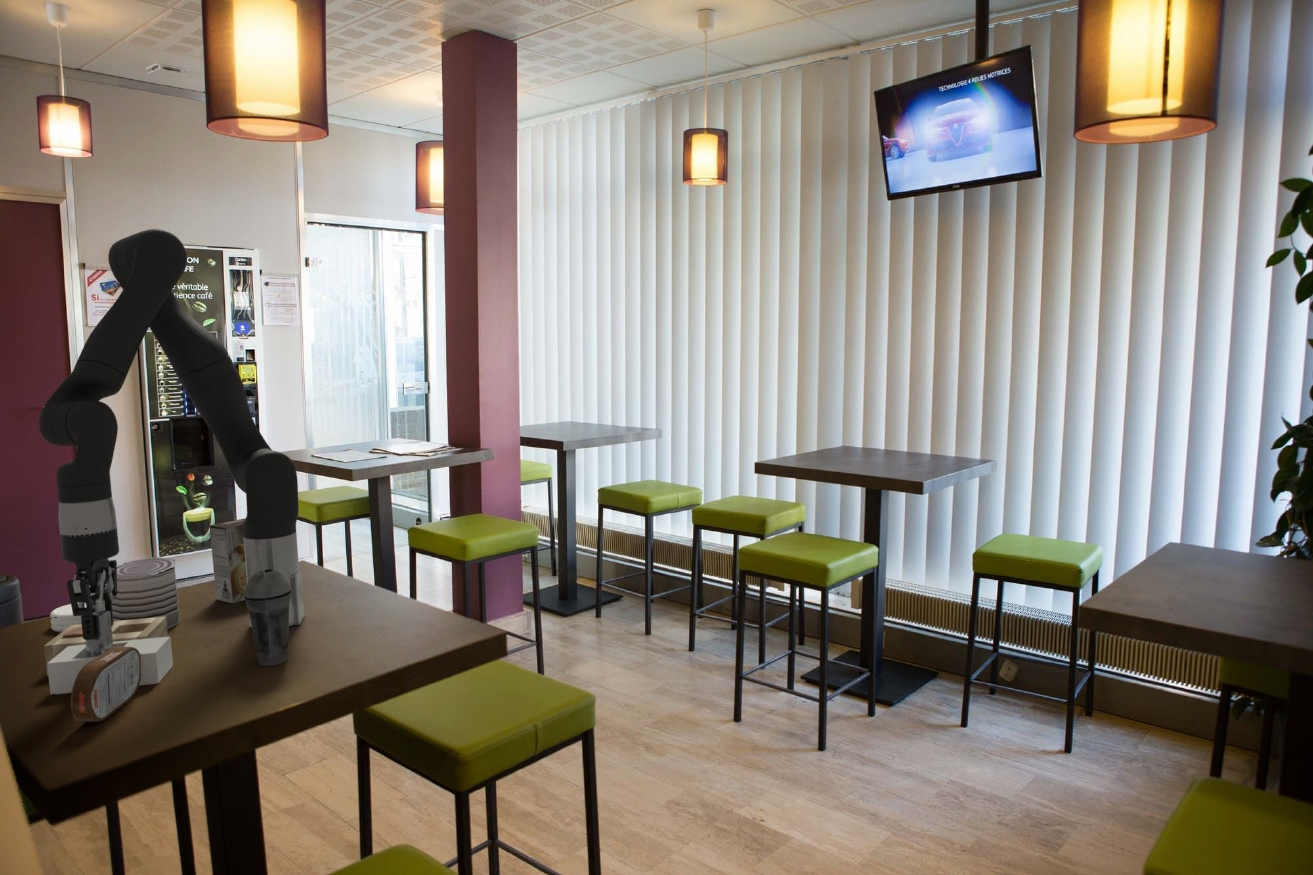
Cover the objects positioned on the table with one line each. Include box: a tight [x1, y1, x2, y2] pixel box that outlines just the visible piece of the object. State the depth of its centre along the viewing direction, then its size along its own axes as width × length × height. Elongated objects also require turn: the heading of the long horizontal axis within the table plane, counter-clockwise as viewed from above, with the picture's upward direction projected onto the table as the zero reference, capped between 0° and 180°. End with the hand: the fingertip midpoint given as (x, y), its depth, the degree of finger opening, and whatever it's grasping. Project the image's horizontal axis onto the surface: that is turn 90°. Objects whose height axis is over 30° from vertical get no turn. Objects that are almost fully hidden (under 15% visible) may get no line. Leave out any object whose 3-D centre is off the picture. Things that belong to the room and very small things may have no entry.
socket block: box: [43, 617, 169, 677], centre depth 150 cm, size 15×11×5 cm
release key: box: [63, 627, 83, 638], centre depth 149 cm, size 4×4×4 cm
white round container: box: [49, 603, 86, 633], centre depth 170 cm, size 10×10×4 cm
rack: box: [47, 636, 174, 696], centre depth 140 cm, size 15×8×5 cm, turn 104°
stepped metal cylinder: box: [86, 599, 113, 657], centre depth 139 cm, size 4×4×13 cm
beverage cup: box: [244, 545, 292, 667], centre depth 146 cm, size 7×7×20 cm
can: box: [111, 556, 180, 630], centre depth 167 cm, size 11×11×12 cm
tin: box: [70, 646, 141, 724], centre depth 128 cm, size 15×3×8 cm, turn 5°
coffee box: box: [209, 517, 247, 604], centre depth 186 cm, size 9×6×16 cm
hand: (99, 632), depth 139 cm, fingers open, 5 cm apart
